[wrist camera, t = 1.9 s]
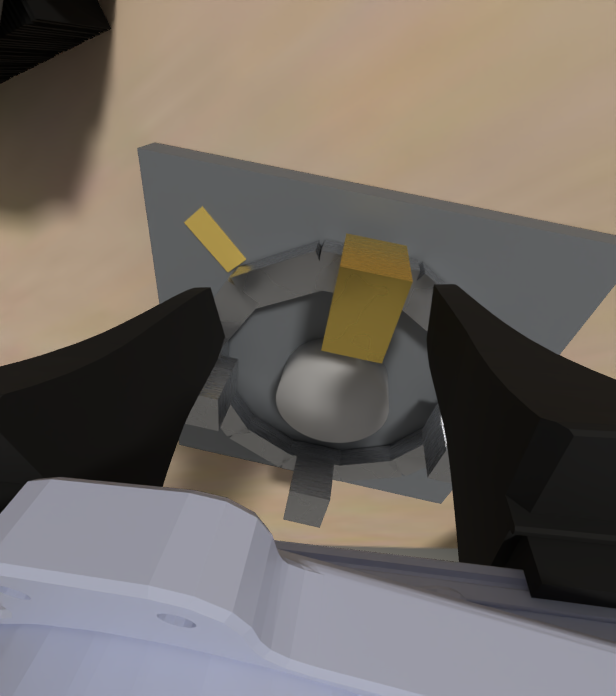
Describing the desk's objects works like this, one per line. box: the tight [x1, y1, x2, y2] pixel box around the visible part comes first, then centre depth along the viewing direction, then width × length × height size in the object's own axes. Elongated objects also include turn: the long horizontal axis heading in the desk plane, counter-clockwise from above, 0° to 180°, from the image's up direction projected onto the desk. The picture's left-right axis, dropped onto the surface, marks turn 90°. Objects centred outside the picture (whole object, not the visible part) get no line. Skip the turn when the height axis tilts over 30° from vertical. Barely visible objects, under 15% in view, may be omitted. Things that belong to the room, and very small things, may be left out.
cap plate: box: [137, 143, 616, 504], centre depth 17 cm, size 17×17×3 cm
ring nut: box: [185, 233, 452, 528], centre depth 16 cm, size 15×15×4 cm
